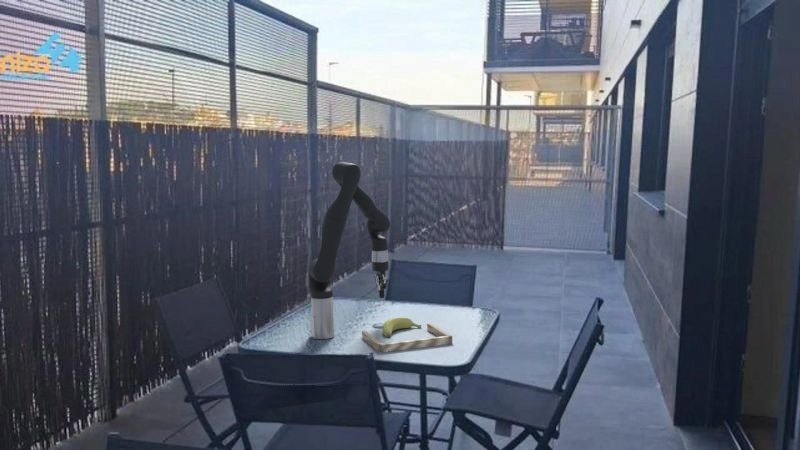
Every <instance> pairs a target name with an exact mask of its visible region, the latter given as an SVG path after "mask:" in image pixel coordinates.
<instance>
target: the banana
mask: <svg viewBox="0 0 800 450" xmlns="http://www.w3.org/2000/svg"><path fill="white" fill-rule="evenodd" d="M412 327H416V328H418V329H421V328H422V324H417V323H414V321H413V320H411V319H410V318H408V317H392V318H389V319H387V320H386V321H384V323H383V325H382V329H381V330H382V334H383V335H384V336H385V337H387V338H390V337H392V332H394V331H396V330H401V329H410V328H412Z"/></svg>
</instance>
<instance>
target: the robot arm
mask: <svg viewBox="0 0 800 450" xmlns="http://www.w3.org/2000/svg"><path fill="white" fill-rule="evenodd" d="M361 171H362V170H361V169H360V166H359V165H358V164H355V163H351V162H346V161H339V162H337V163H335V164H334V165H333V167H332V170H331V174H332V177H333V179H334V181H335V182H336V183H337V184H338V185H339V186H340V190H339V193H338V195H337V196H336V198H335V199H334V200H333V201H332V203H331V204H330V205H329V206H328V208H327V210H326V213H325V216H324V218H323V223H322V227H321V246H320V250H319V253H318V254H319V255H318V258H315V259H313V260H312V261H311V262H310V263H309V266H308V286H309V291H310V299H311V300H310V301H311V303H310V304H311V314H310V328H311V329H310V331H311V332H310V333H311V337H312V338H313V339H314V340H327V339H332V338H334V337H335V318H334V316H335V313H334V294H333V293H334V292H333V288H332V285H331V279H332V278H333V275H334V273H335V270H336V269H335V267H336V262H337V261H336V260H337V256H338V252H339V248H340V244H341V241H342V238H343V234H344V231H345V227H346V224H347V221H348V217H349V216H348V215H349V213H350V208H351V205H352V201H353V202H354V204H355V205H356V206H357V207H358V208H357V209H358V210H359V211H360V213H361V214H362V216H363V217H364V218H365V219H367V222H366V227H367V232H368V234H369V237H370V241H371V269H372V270H371V271H373V272H375V275H374V280H375V281H374V282H375V284H376V285H375V286H376V288H377V290H378V298H380V299H384V298H385V291H386V289H387V287H388V282H389V279H387V274H386V272H388V271H389V270H390V264H389V251H388V238H387V237H385V236H383V235H381V233H386V232H387V231H389V230H390V227H391V221H390V219H389V217H388V216H387V214H385V213H384V212H383V211H382V210H381V209H380V208H378V206H377V205H376V203H375V202H374V199H373V198H372V197H371V196H370V194H368V193H367V192H366V191H365V190H364V189H363V188H362V187H361V186H360V185H359V183H360V180H361V174H362V173H361Z"/></svg>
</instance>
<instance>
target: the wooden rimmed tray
mask: <svg viewBox="0 0 800 450" xmlns="http://www.w3.org/2000/svg"><path fill="white" fill-rule="evenodd" d="M426 330H427V331H428V332H429V333H431V334H433V335H434V336H433V337H426V338H420V339H419V338H418V339H410V340H401V341H395V342H393V341H392V342H387V343H382V342H380V341H379V340H377V339H376V338H375V337H374V336H373V335H371V334H370V333H369V332H368V331H367V330H361V338H362V339H363V340H364V341H365V342H366V343H367V344H369V346H371V347H372V348H373V349H374V350H376V351H377V352H378V353H379V354H380V352H382V353H389V352H388V351H390V352H395V351H396V352H397V350H398V351H404V350H412V349H413V350H414V349H420V348H429V347H435V346H443V345H444V346H445V345H450V344H453V335H451V334H449V333H448V332H446V331H444V330H443V329H441V328H439V327H438V326H436V325H434V324H433V323H431V322H428V323H427V324H426ZM435 336H436V337H435Z"/></svg>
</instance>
